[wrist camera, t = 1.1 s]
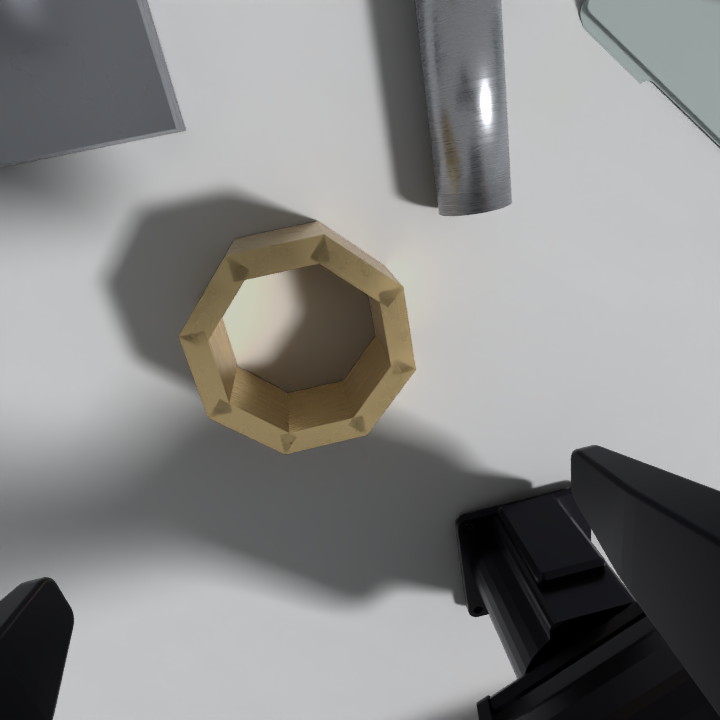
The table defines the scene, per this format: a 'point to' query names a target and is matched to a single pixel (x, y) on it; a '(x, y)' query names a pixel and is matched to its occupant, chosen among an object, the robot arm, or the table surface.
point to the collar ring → (314, 405)
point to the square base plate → (80, 78)
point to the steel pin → (466, 103)
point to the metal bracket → (665, 49)
